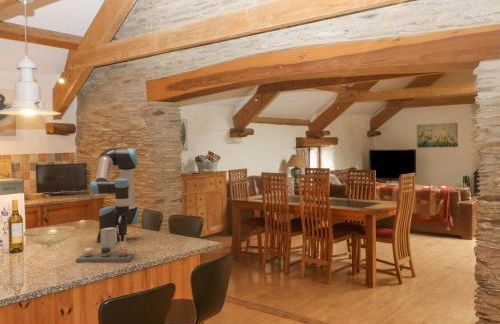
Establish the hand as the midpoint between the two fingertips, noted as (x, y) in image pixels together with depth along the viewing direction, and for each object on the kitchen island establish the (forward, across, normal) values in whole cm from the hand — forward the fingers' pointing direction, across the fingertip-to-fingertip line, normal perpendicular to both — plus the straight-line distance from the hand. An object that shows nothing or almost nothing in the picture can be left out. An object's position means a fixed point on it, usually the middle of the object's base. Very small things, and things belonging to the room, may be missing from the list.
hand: (123, 246), depth 263 cm
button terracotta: (+7, 0, 0) cm, 7 cm away
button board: (+8, 0, -10) cm, 12 cm away
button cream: (+6, 0, -20) cm, 21 cm away
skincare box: (+8, -18, -14) cm, 24 cm away
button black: (+6, 0, -10) cm, 12 cm away
